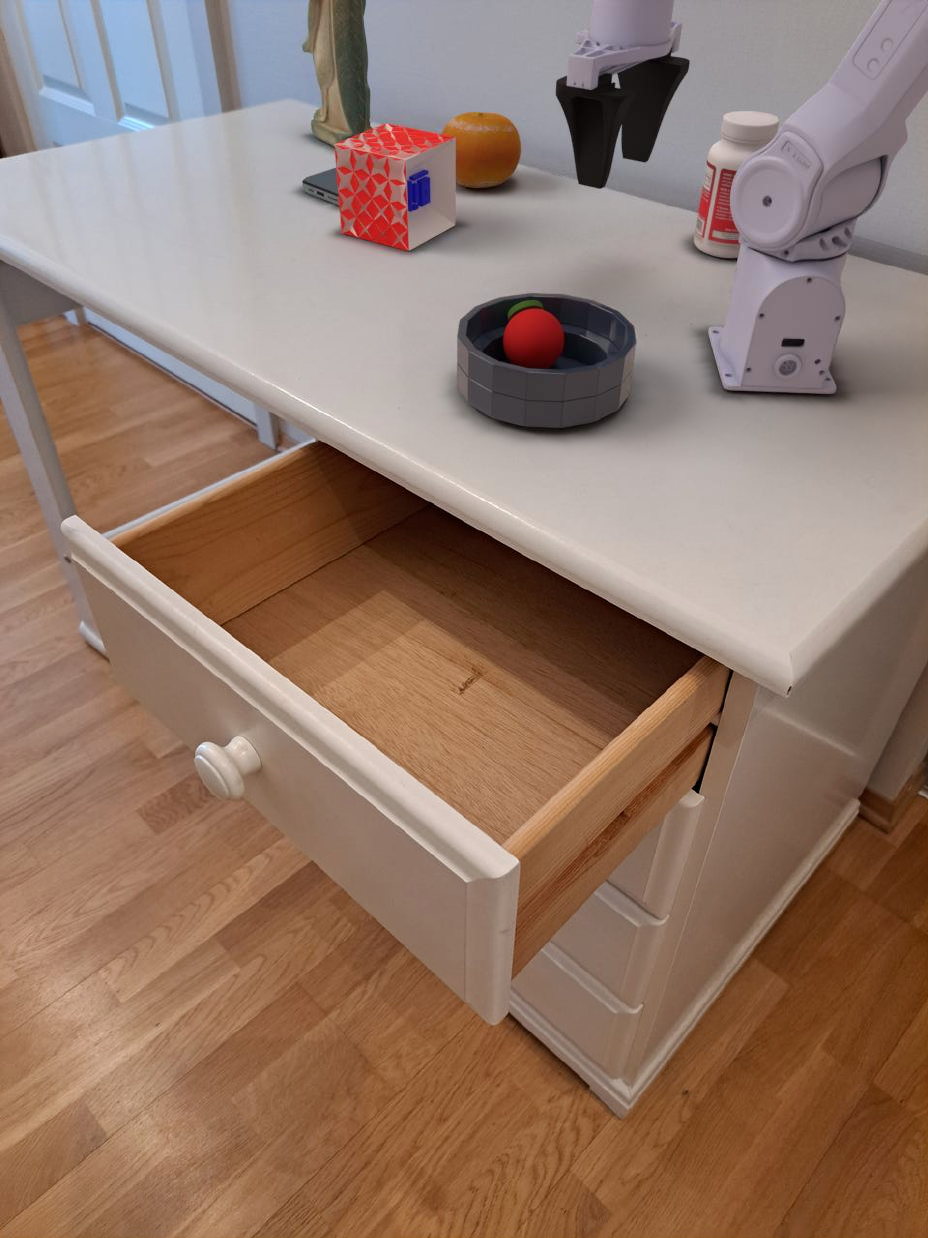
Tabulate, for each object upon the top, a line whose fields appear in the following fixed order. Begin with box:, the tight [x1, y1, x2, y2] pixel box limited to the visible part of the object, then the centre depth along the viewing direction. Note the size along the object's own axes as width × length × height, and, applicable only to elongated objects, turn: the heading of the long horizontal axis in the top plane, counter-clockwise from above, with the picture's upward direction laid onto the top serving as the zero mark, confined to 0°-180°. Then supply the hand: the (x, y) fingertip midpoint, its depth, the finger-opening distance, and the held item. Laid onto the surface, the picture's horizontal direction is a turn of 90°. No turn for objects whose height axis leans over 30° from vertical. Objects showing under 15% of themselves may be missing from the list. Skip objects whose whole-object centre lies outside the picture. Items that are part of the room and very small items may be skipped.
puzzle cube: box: [333, 123, 457, 252], centre depth 87 cm, size 8×8×8 cm
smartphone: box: [301, 167, 339, 207], centre depth 98 cm, size 8×2×15 cm
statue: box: [301, 0, 373, 148], centre depth 102 cm, size 7×8×25 cm
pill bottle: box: [693, 110, 780, 259], centre depth 83 cm, size 6×6×11 cm
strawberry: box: [503, 300, 564, 369], centre depth 66 cm, size 4×4×5 cm
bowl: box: [456, 292, 637, 429], centre depth 65 cm, size 12×12×4 cm
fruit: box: [441, 111, 522, 189], centre depth 97 cm, size 8×8×8 cm
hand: (614, 171), depth 73 cm, fingers open, 7 cm apart
